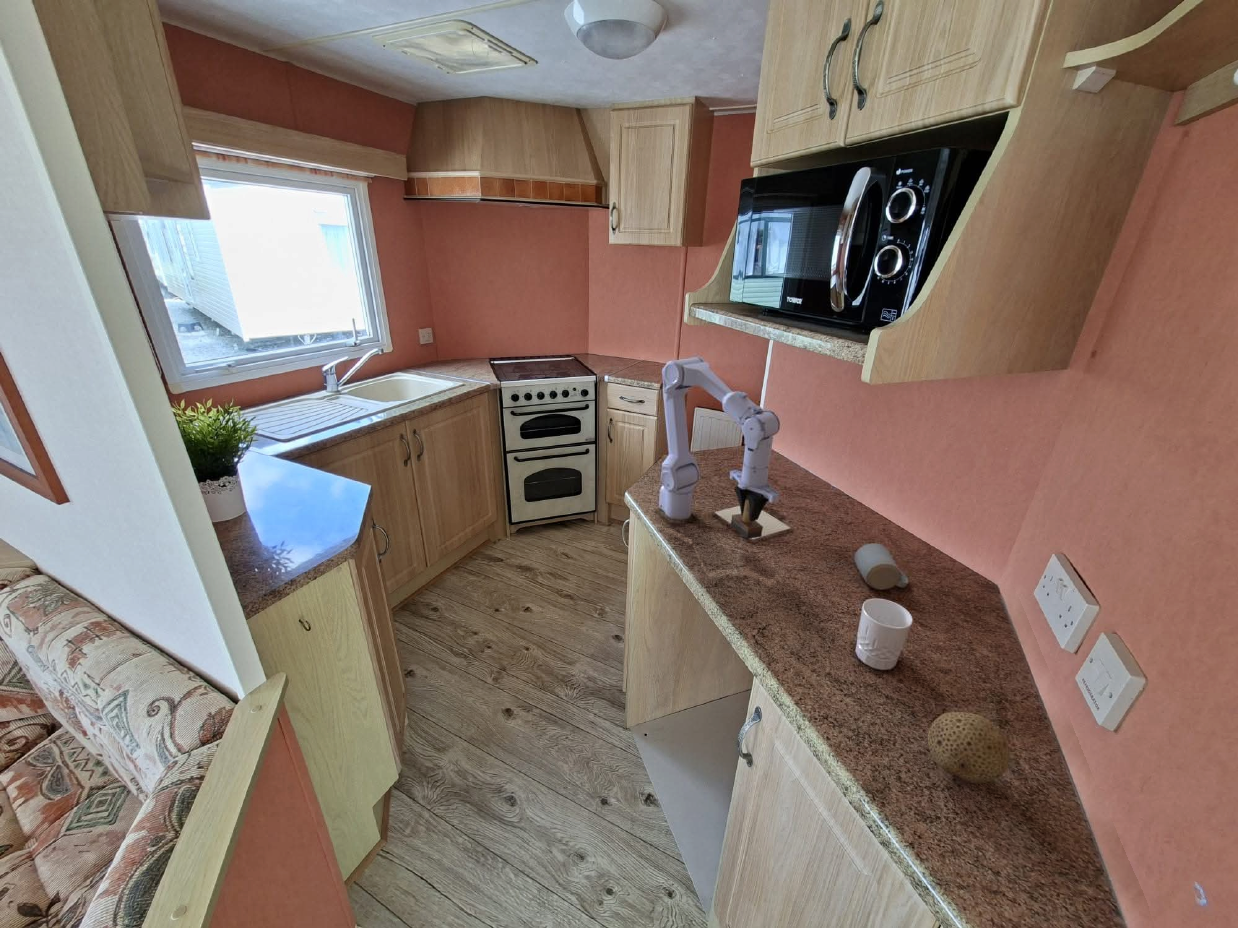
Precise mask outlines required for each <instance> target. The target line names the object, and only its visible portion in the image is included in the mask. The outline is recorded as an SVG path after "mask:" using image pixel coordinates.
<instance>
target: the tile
mask: <svg viewBox="0 0 1238 928" xmlns="http://www.w3.org/2000/svg"><path fill="white" fill-rule="evenodd" d="M714 514H716V515H717V516H718V517H720V518H721V519H723V520H725V521H726V522H727V523H728V524H730V525H731V519H732V515H736V514H741V510H740V505H737V506H736V505H735V506H733V507H732V506H731V507H729V508H724V509H722V510H721V509H720V510H718V511H714ZM755 521H757V522H758V523H759V524H760V525H762V526H763V529H762V535H761V537H755V538H750V539H751V540H757V539H759V538H762V537H766V536H769V535H773V534H777V533H780V532H782V531H786V530H789V529H791V527H790V526H789V525H787V524H785V523H784V522H782V521H781V520H779V519H778V518H776V517H774V516H772V515H771V514H770V513H768V512H766V511H764V510H763V509H762V511H761V513H760V515H759V518H758V520H755Z"/></svg>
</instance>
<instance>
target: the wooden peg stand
mask: <svg viewBox="0 0 1238 928" xmlns="http://www.w3.org/2000/svg"><path fill="white" fill-rule="evenodd" d="M749 510H750V507H749V500H748V497H747V498H746V501H745V506H744V512H743V515H741V514H736V515H732V519H731V524H730V526H731V527H733V529H735V530H736V531H737V532H738V533H740V534H741V535H742V536H743V537H744V538H745V539H747V540H748V539H751V538H755V537H759V538H762V537H761V535H762V529H763V526H762V525H760V524H759V523H758V522H757V521H750V520H749Z"/></svg>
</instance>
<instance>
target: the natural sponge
mask: <svg viewBox="0 0 1238 928" xmlns="http://www.w3.org/2000/svg"><path fill="white" fill-rule="evenodd" d="M927 746H928V749H929V752H930V755H931V757H932V758H933V760H934V761H935V763H936V764H937V766H939V767H940V768H941V769H942V770H944V771H945V772H947V773H948V774H950V775H952V776H956V777H958V778H960V779H961V780H964V781H965V782H968V783H971V784H985V783H989V782H992V781H995V780H997V779H999V778H1000V777H1002V776H1003V775H1004V774H1005V773H1006V772H1007V771H1008V767H1009V764H1010V758H1011V753H1010V746H1009V744H1008V741H1007V739H1006V737H1005V735H1004V734H1003V733H1002V731H1001V730H1000V729H999V728H998V727H997V726H996V725H995V724H994V723H993V722H992V721H991V720H990V719H987V718H985V717H983V716H981V715H979V714H976V713H971V712H966V711H965V712H964V711H950V712H945V713H942V714H941V715H940V716H938V717H937V718H935V719H934V720H933V722H932V723H931V724H930V727H929V729H928V732H927Z"/></svg>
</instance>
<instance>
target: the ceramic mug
mask: <svg viewBox="0 0 1238 928" xmlns="http://www.w3.org/2000/svg"><path fill="white" fill-rule="evenodd" d="M853 560H854V564H855V566H856V567H857V570H858V571H859V573H860V574H861V576H862V578H863V580H864V581H865V583H866V584H867V585H868V586H869V587H871V588H872V589H875V590H878V591H879V590H880V591H883V590H884V591H885V590H888V589H892V588H893V587H895V586H896V587H899V588H905V587H906V586H907V585H908V584H909V579H908V577H907V576H906V575H905V574H904V572H902V571H901V570H900V569H899V566H898V565H897V564H896V561H894V558H893V557H892V555H891V553H890V551H889V549H888V548H886V546H884V545H882V544H880V543H876V542H875V543H866V544H864V545H863V546H861V547H860V548H858V549H857V551H856V552H855V554H854V559H853Z"/></svg>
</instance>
